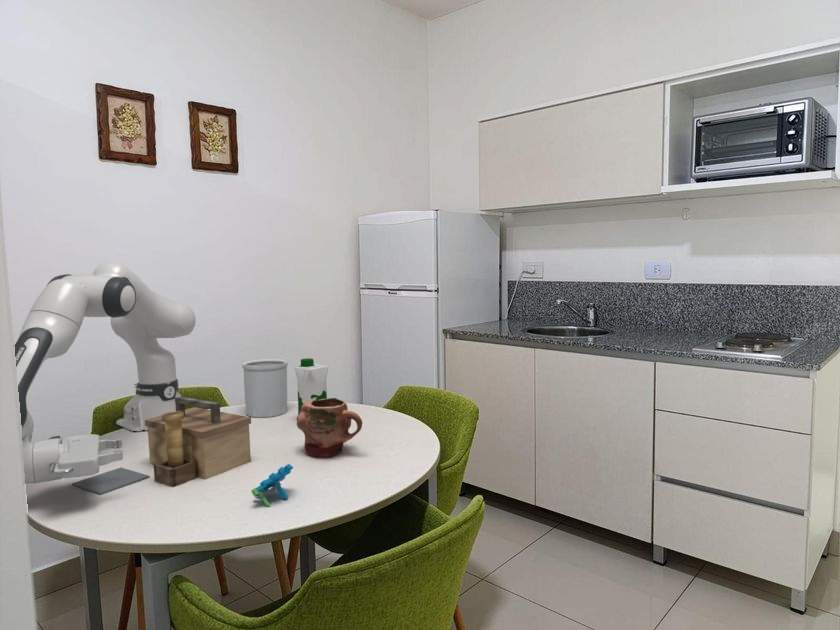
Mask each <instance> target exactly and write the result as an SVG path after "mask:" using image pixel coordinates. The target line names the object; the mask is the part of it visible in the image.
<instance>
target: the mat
mask: <svg viewBox="0 0 840 630" xmlns="http://www.w3.org/2000/svg"><path fill="white" fill-rule="evenodd" d="M149 478H150V475H148V474H144V473H141V472H138V471H134V470H132V469H127V468H124V467H118V468H114V469H112V470H108V471H105V472H103V473H100V474H99V473H98V474H95V475H92V476H91V477H87V478H83V479H81V480H78V481H75V482H72V483H71V485H72V486H75V487H76V488H80V489H83V490H86V491H88V492H92V493H95V494H96V495H97V494H98V495H100V496H102V495H104V494H107V493H111V492H113V491H115V490H118V489H121V488H124V487H126V486H131V485H132V484H136V483H138V482H141V481H143V480H145V479H146V480H147V479H149Z"/></svg>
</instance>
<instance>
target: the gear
mask: <svg viewBox="0 0 840 630" xmlns="http://www.w3.org/2000/svg"><path fill="white" fill-rule="evenodd" d="M293 469H294V467H293V466H292V464H290V463H287V464H286V465H285V466H281V467H279V468H278V469H277V472H276V473H275V472H272V473H271V474H269V476H268V477H267V478H266V479H263V480H262V481H261V482H260V483H259V486H257V487H256V488H253V489H252V490H251V493H252V495H253V497H255V498H257V500H262V501H263V503H264V504H265V506H266V507H267V508H268V507H270V506H271V503H270V502H269V501H268V499H267V498H266V496H267V495H270V494H271V493H273V492H274V491H277V492H278V493H279V494H280V496H281V497H282V498H283V500H284V501H285V500H286V499H288V498H289V496H288V494H287V493H286V491H285V490H284V489H283V487H282V484H281V482H282V481H284V480H285V479H286V476H288V475H289V474H291V472H292V471H291V470H293Z"/></svg>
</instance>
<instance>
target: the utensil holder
mask: <svg viewBox="0 0 840 630" xmlns="http://www.w3.org/2000/svg"><path fill="white" fill-rule="evenodd" d="M242 369H243V385H244V387H243V389H244V406H245V415H246V416H247V417H251V418H259V419H260V418H261V419H262V418H273V417H279V416H282V415H284V414H285V413H287V412H288V361H287V360H286V359H280V358H278V359H277V358H262V359H252V360H247V361H244V362H242Z"/></svg>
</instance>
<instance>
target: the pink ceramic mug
mask: <svg viewBox="0 0 840 630" xmlns="http://www.w3.org/2000/svg"><path fill="white" fill-rule="evenodd" d="M352 420H354V422H355V423H356V427H357V428H356V430H355V431H354V432H352V433H350V432H349V430H350V428H351V426H352ZM296 427H297V429H298V430H300V431H302V433H303V434H304V450H305V453H306V455H308V456H310V457H312V458H319V459H328V458H329V459H330V458H331V457H335V456H337V455H339V454H341V453H342V451H343V449H344V444H345V443H346V442H348V441H350V440H352V439H353V438H354V437H355V436H356V435H357V434H359V433H360V432H361V430H362V427H363V420H362V418H361V417H360V415H359V414H358V413H357V412H355V411H353V410H348V405H347V403H346V402H345V401H344V400H342V399H340V398H339V399H338V398H337V397H331V398H330V397H329V398H327V399H321V400H311V401H308V402H306V403H304V404H303V405H302V406H301V410H300V414H299V415H298V414H297V416H296Z"/></svg>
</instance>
